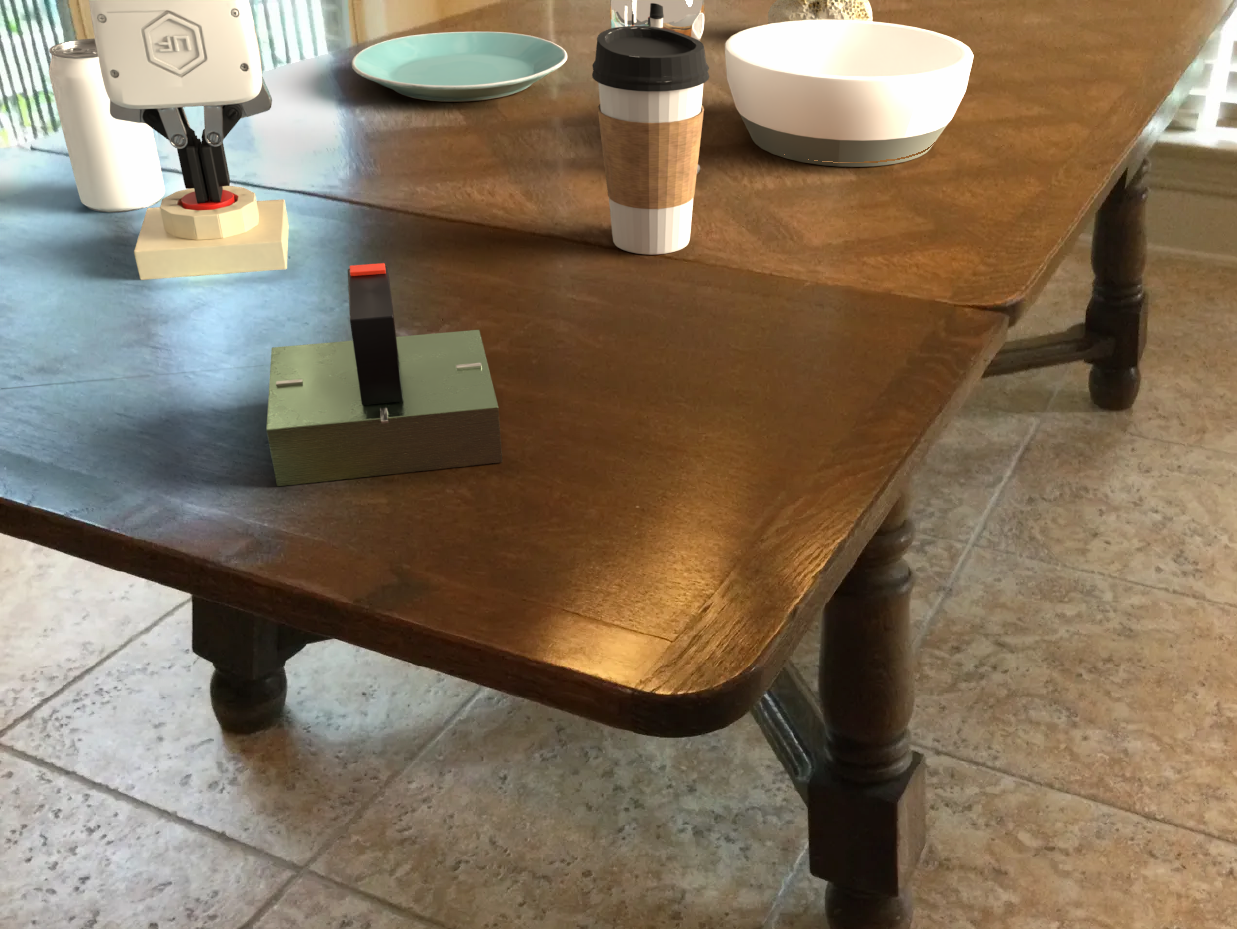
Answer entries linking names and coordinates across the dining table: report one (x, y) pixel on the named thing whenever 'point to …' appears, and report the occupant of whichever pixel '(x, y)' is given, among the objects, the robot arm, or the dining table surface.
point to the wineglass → (661, 17)
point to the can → (102, 136)
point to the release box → (212, 237)
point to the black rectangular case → (374, 334)
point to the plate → (459, 64)
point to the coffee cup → (650, 133)
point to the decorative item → (819, 10)
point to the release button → (207, 202)
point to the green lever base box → (381, 411)
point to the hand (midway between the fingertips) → (210, 196)
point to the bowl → (845, 88)
